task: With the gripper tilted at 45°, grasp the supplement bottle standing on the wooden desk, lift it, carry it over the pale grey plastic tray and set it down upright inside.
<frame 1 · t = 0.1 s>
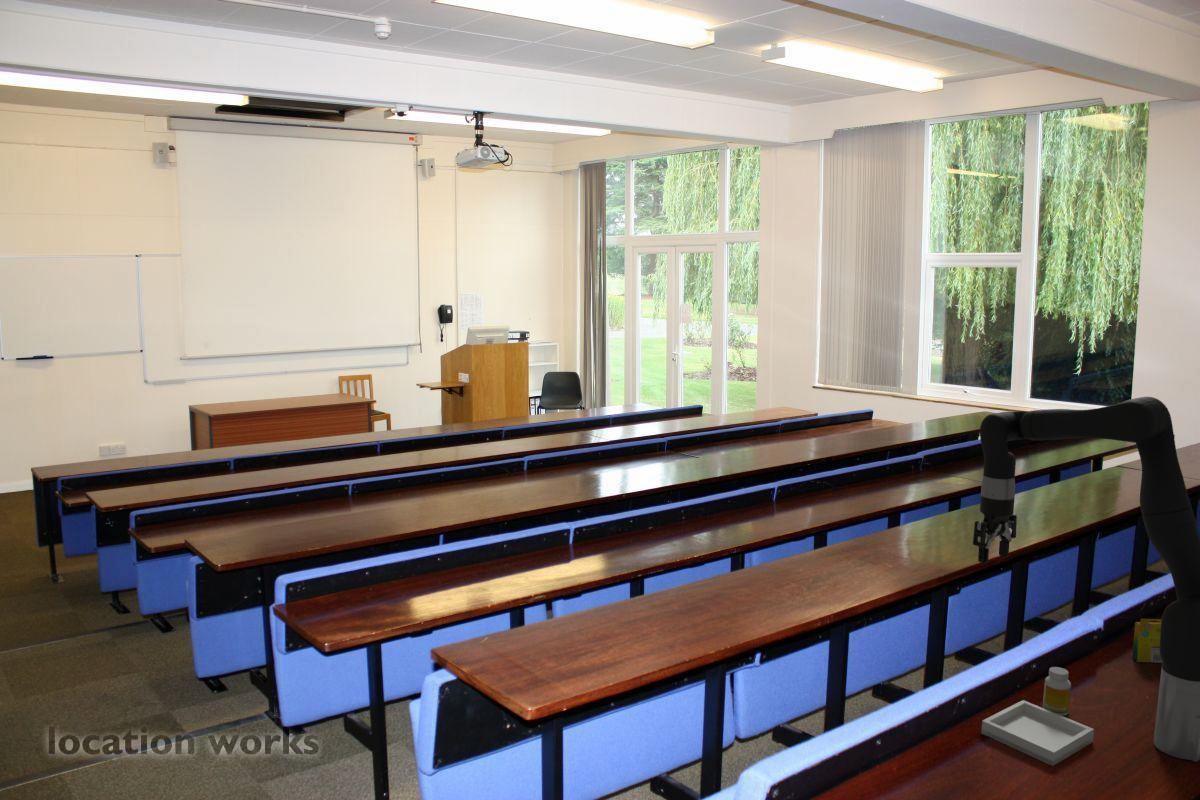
hand: (993, 559, 230), 29 cm above the table, tool pointing down, fingers open, 8 cm apart
crayon box: (1149, 661, 242), on the table
tray: (1036, 737, 204), on the table
supplement bottle: (1055, 711, 216), on the table
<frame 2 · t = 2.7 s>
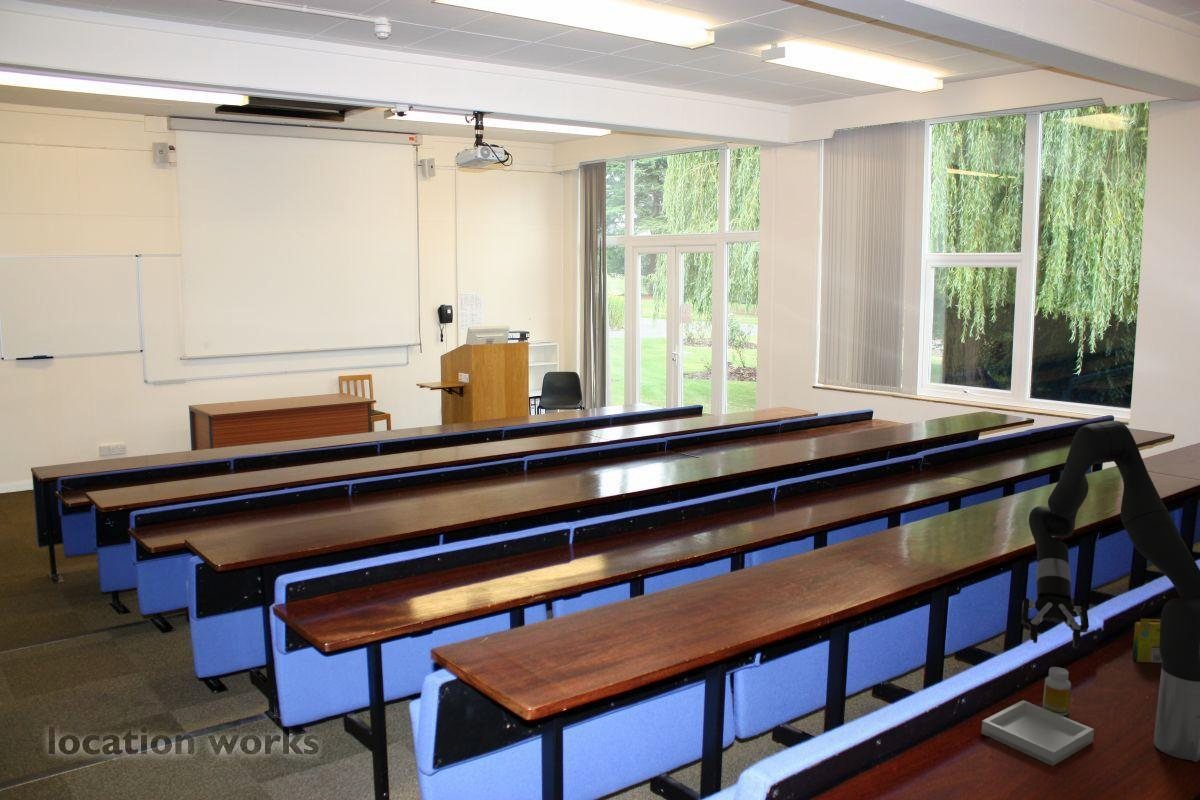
hand: (1055, 644, 222), 12 cm above the table, tool tilted 45°, fingers open, 8 cm apart
nothing on the table moved.
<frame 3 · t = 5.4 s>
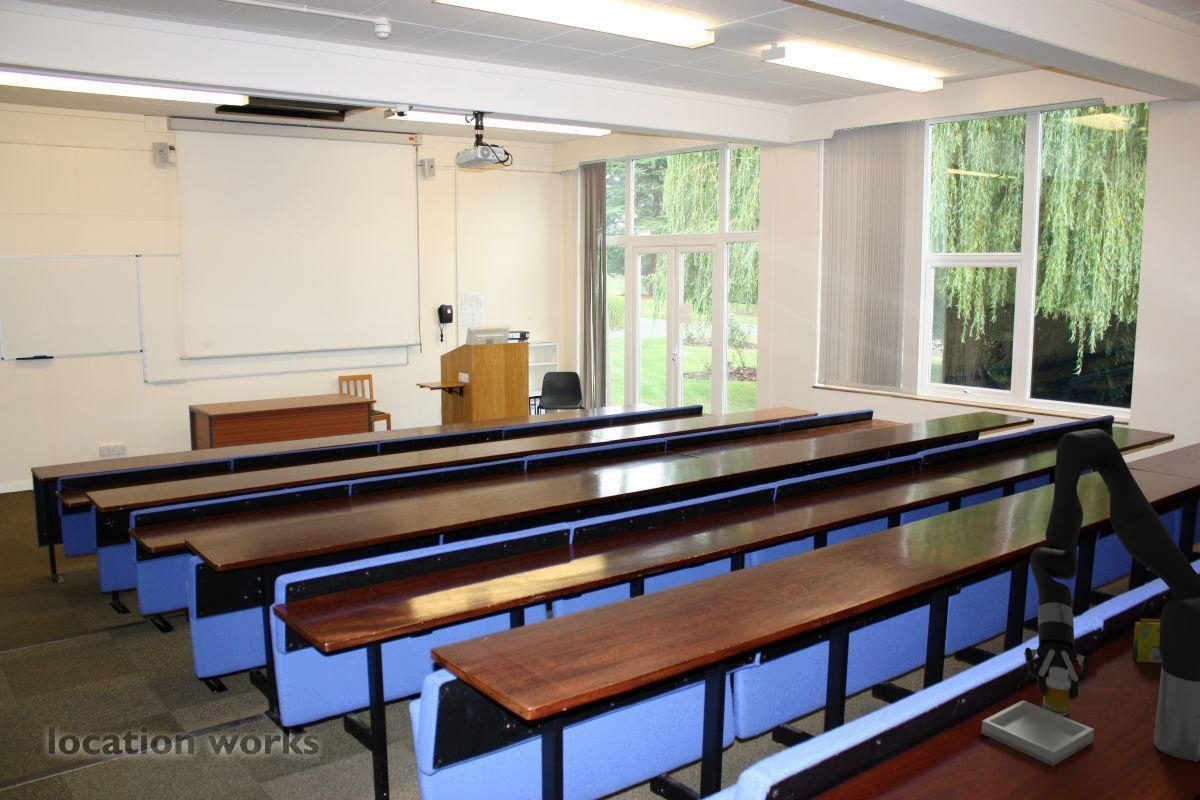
hand: (1058, 696, 213), 4 cm above the table, tool tilted 45°, fingers closed on supplement bottle, 5 cm apart
supplement bottle: (1055, 711, 216), on the table, touching gripper
everything else where it was.
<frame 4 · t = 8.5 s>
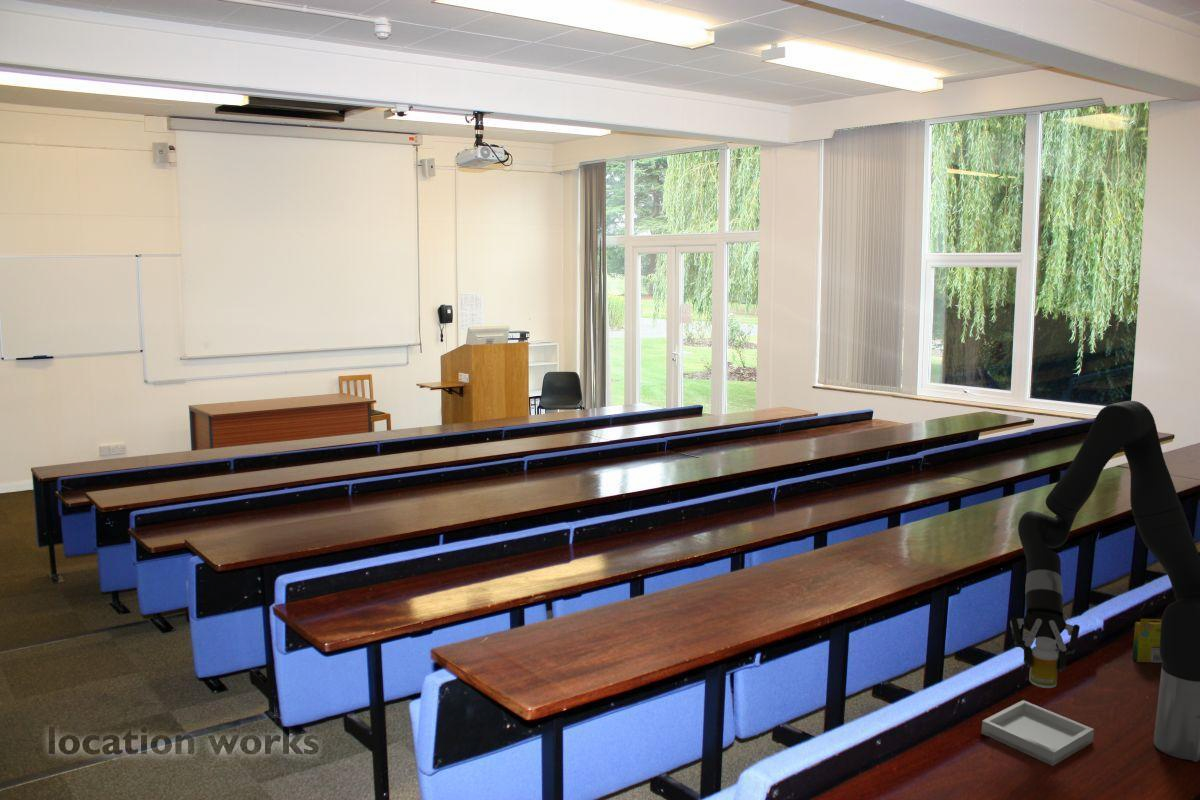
hand: (1045, 667, 201), 16 cm above the table, tool tilted 45°, fingers closed on supplement bottle, 5 cm apart
supplement bottle: (1042, 683, 204), point 12 cm above the table, touching gripper
everything else where it was.
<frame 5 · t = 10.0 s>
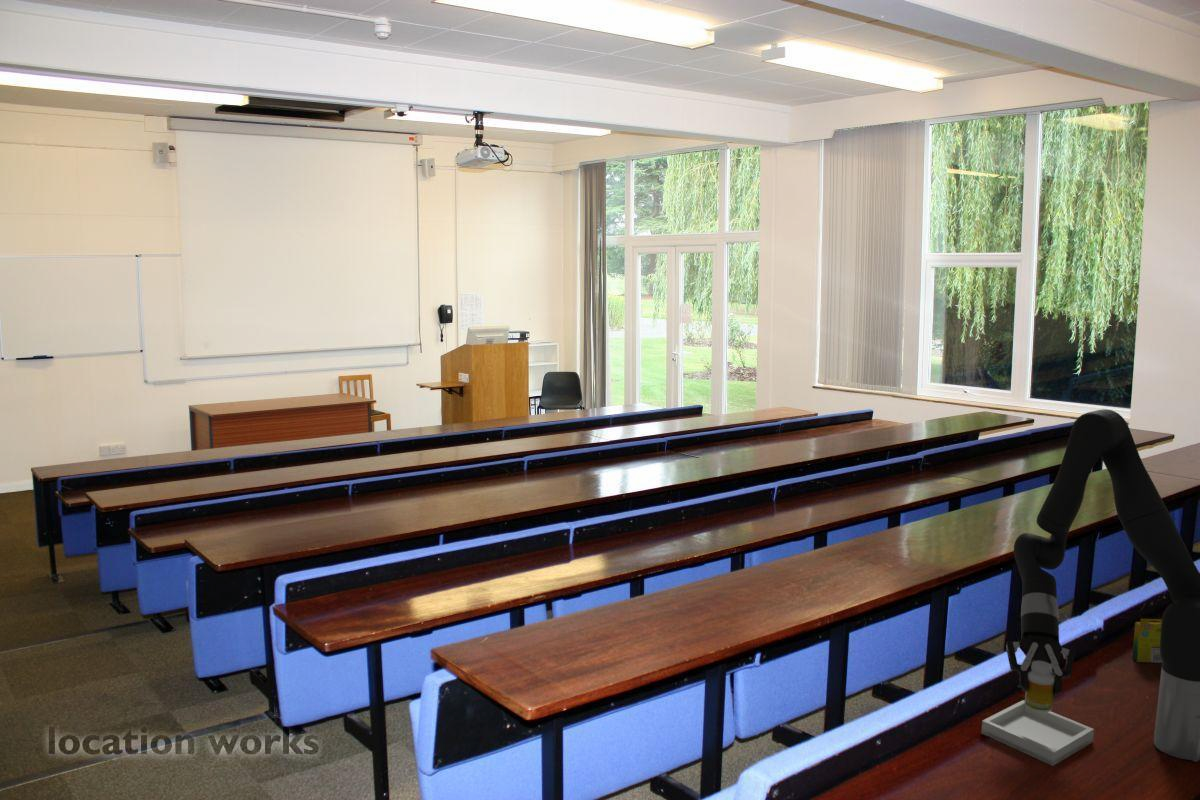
hand: (1040, 692, 201), 11 cm above the table, tool tilted 45°, fingers closed on supplement bottle, 5 cm apart
supplement bottle: (1038, 707, 203), point 7 cm above the table, touching gripper
everything else where it was.
when the fingers open (7 cm above the table, at t = 11.5 s): supplement bottle drops 1 cm, resting on tray.
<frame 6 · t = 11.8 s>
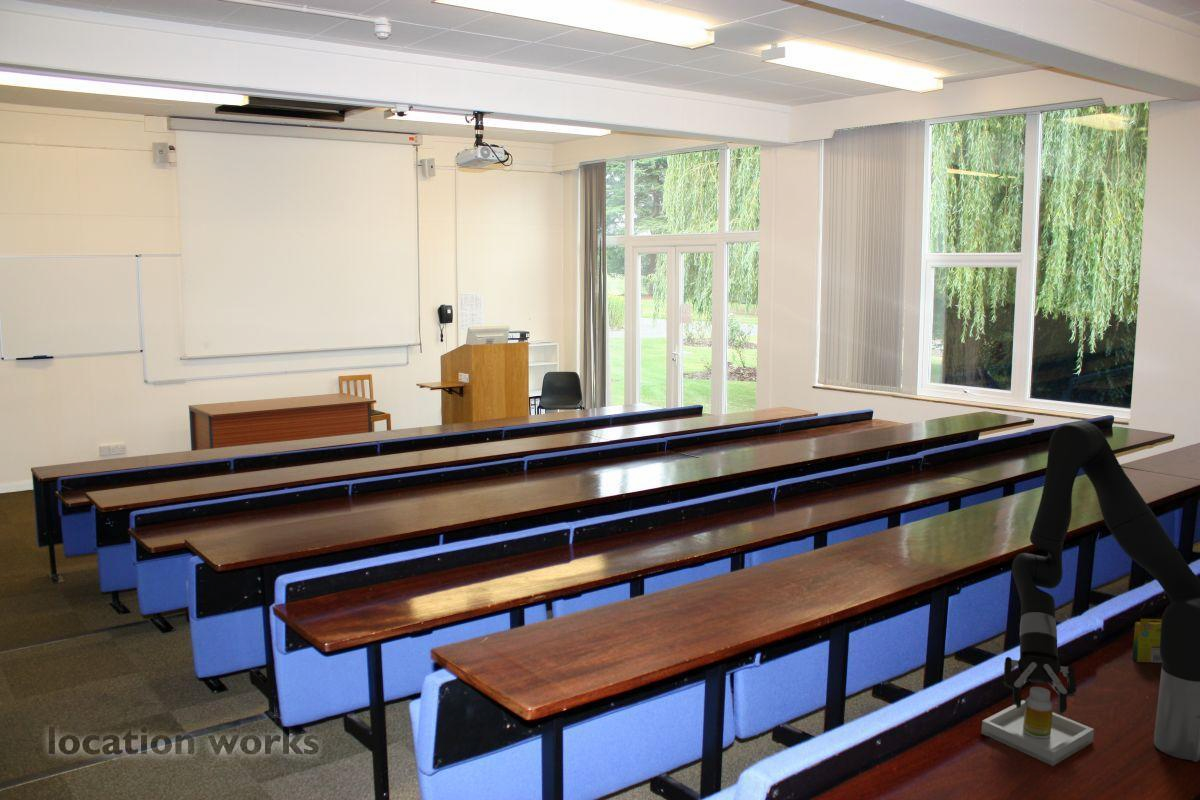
hand: (1039, 710, 201), 7 cm above the table, tool tilted 45°, fingers open, 8 cm apart
supplement bottle: (1036, 733, 204), point 1 cm above the table, touching tray
everything else where it was.
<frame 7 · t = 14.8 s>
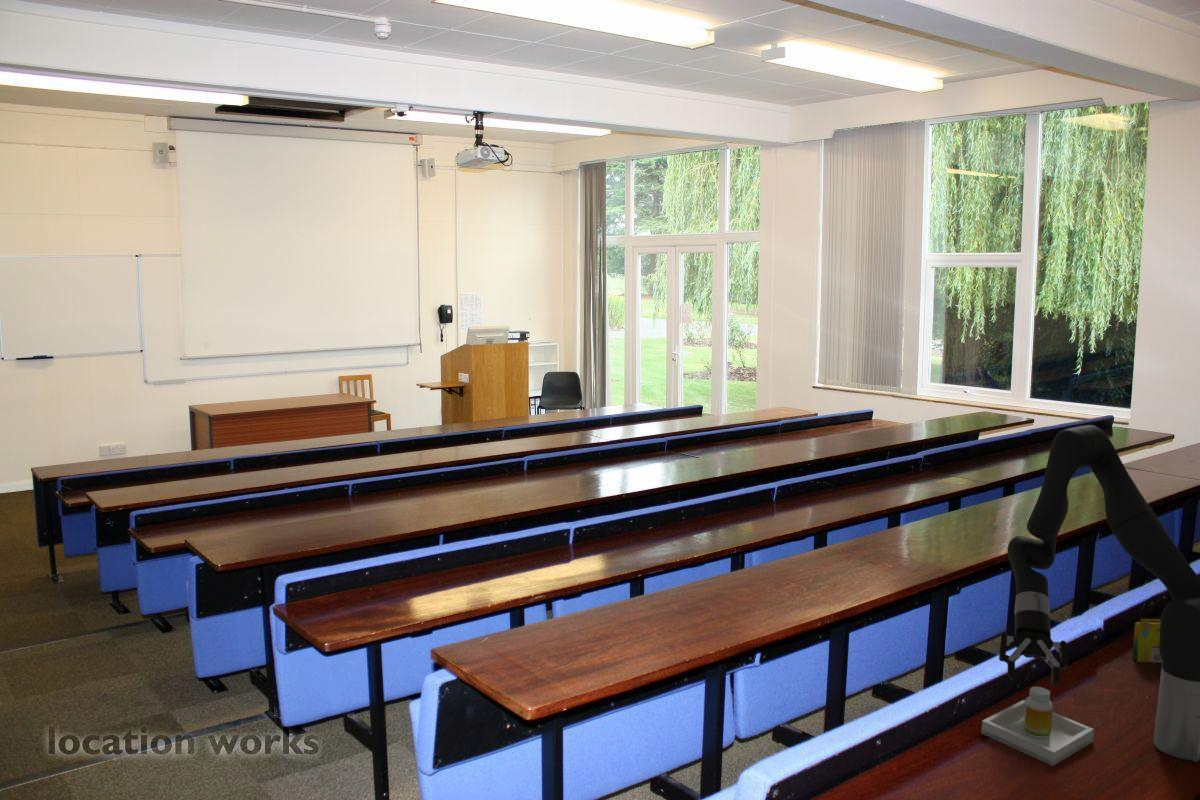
hand: (1033, 682, 214), 7 cm above the table, tool tilted 45°, fingers open, 8 cm apart
nothing on the table moved.
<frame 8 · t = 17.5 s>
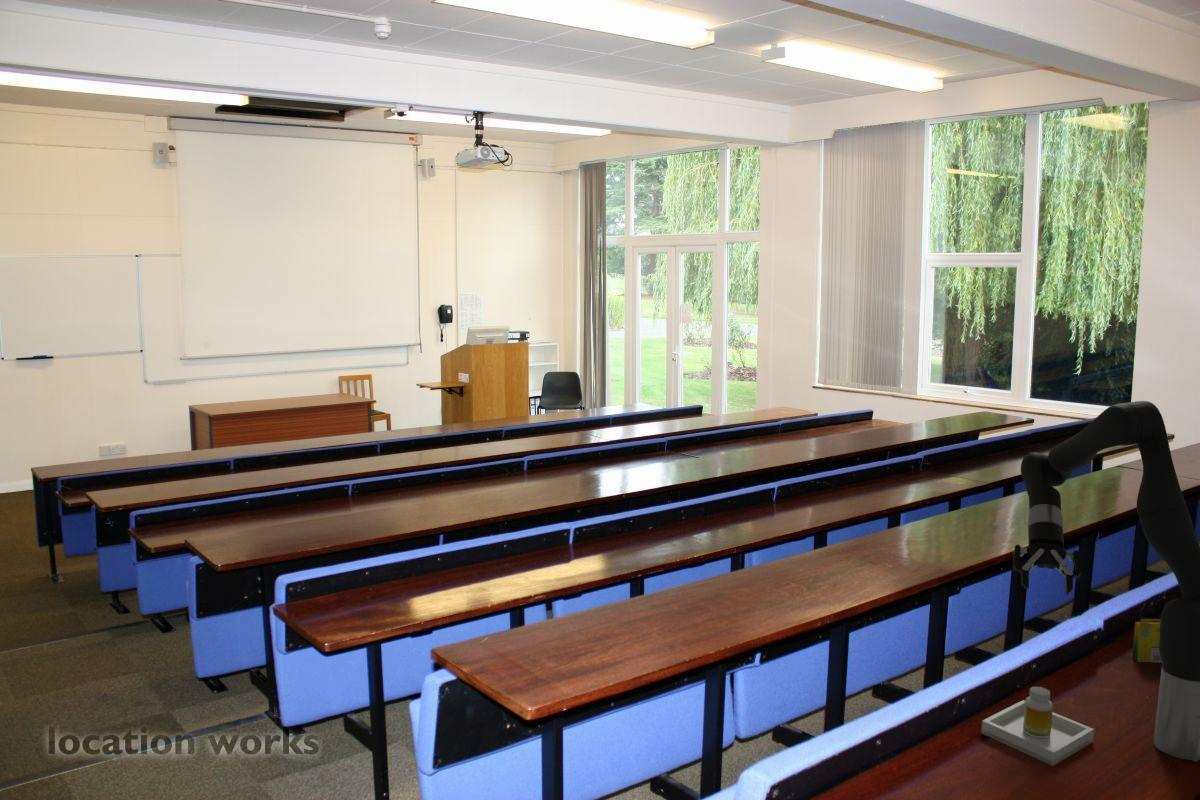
hand: (1047, 590, 217), 27 cm above the table, tool tilted 45°, fingers open, 8 cm apart
nothing on the table moved.
at the end: supplement bottle inside the target area on the tray (0.2 cm from its centre), point 0.8 cm above the tray's base; supplement bottle tilted 0°; the gripper is holding nothing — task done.
